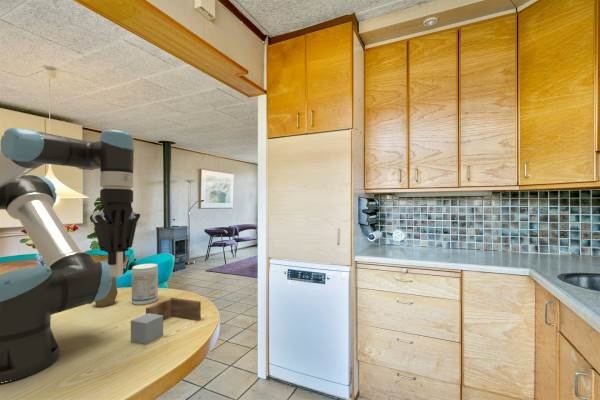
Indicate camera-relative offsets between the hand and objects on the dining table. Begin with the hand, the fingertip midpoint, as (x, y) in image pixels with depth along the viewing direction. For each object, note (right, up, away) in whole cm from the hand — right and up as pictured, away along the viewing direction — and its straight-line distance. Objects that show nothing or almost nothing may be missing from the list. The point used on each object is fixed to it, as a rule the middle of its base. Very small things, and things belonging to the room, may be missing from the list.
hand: (116, 276), depth 75 cm
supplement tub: (-15, -22, +41) cm, 48 cm away
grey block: (+4, -21, +8) cm, 23 cm away
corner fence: (+7, -21, +19) cm, 29 cm away
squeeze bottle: (-29, -22, +37) cm, 52 cm away
